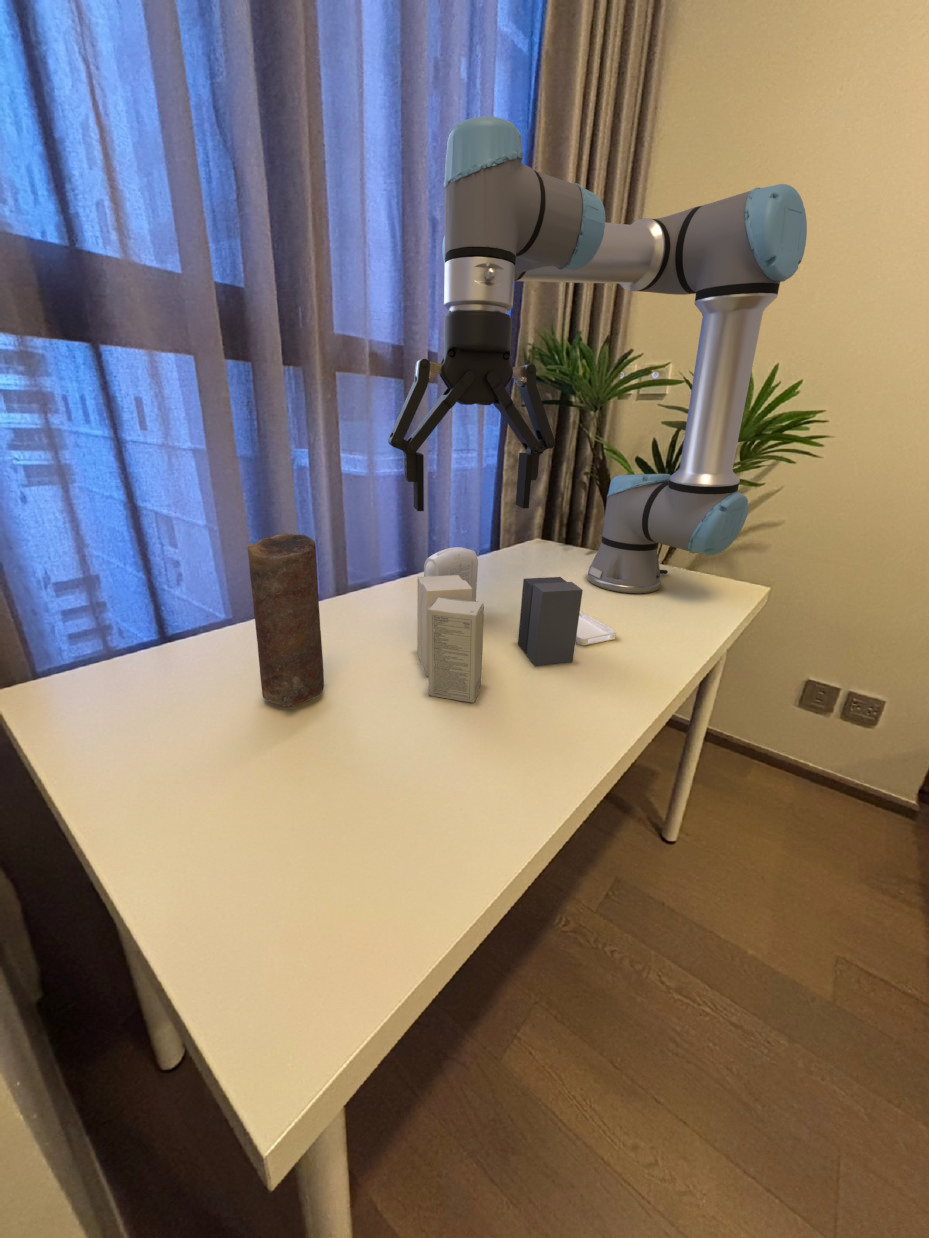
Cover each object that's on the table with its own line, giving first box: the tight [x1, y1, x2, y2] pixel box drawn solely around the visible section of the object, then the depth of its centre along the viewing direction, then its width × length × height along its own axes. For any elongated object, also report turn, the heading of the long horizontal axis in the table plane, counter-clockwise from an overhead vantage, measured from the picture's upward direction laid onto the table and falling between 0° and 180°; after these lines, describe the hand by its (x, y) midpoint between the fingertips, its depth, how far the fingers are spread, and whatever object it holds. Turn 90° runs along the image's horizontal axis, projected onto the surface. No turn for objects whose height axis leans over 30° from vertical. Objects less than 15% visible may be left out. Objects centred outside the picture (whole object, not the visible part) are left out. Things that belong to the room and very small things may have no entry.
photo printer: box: [423, 546, 479, 602], centre depth 86 cm, size 10×4×12 cm, turn 134°
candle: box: [246, 533, 325, 708], centre depth 59 cm, size 8×7×20 cm
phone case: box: [575, 610, 617, 646], centre depth 87 cm, size 7×1×15 cm
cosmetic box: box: [428, 598, 485, 703], centre depth 63 cm, size 6×4×12 cm
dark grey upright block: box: [517, 576, 584, 667], centre depth 75 cm, size 6×7×12 cm
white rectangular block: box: [416, 575, 472, 677], centre depth 71 cm, size 6×7×12 cm
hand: (471, 508), depth 64 cm, fingers open, 13 cm apart
